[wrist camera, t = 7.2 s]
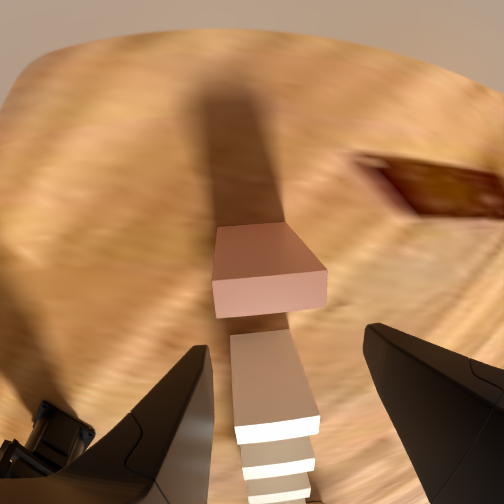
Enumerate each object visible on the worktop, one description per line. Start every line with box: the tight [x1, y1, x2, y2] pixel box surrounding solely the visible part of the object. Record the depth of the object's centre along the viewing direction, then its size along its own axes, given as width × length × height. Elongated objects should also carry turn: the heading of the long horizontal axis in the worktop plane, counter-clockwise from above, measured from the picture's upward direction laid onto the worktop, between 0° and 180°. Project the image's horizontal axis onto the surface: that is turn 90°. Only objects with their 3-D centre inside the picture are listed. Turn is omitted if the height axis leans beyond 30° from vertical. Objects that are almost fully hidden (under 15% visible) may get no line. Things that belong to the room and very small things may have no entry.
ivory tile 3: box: [246, 472, 311, 504], centre depth 21 cm, size 2×4×9 cm, turn 94°
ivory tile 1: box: [230, 329, 320, 444], centre depth 19 cm, size 2×4×9 cm, turn 94°
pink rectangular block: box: [212, 222, 328, 318], centre depth 16 cm, size 2×4×9 cm, turn 93°
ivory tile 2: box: [240, 435, 315, 480], centre depth 20 cm, size 2×4×9 cm, turn 94°
